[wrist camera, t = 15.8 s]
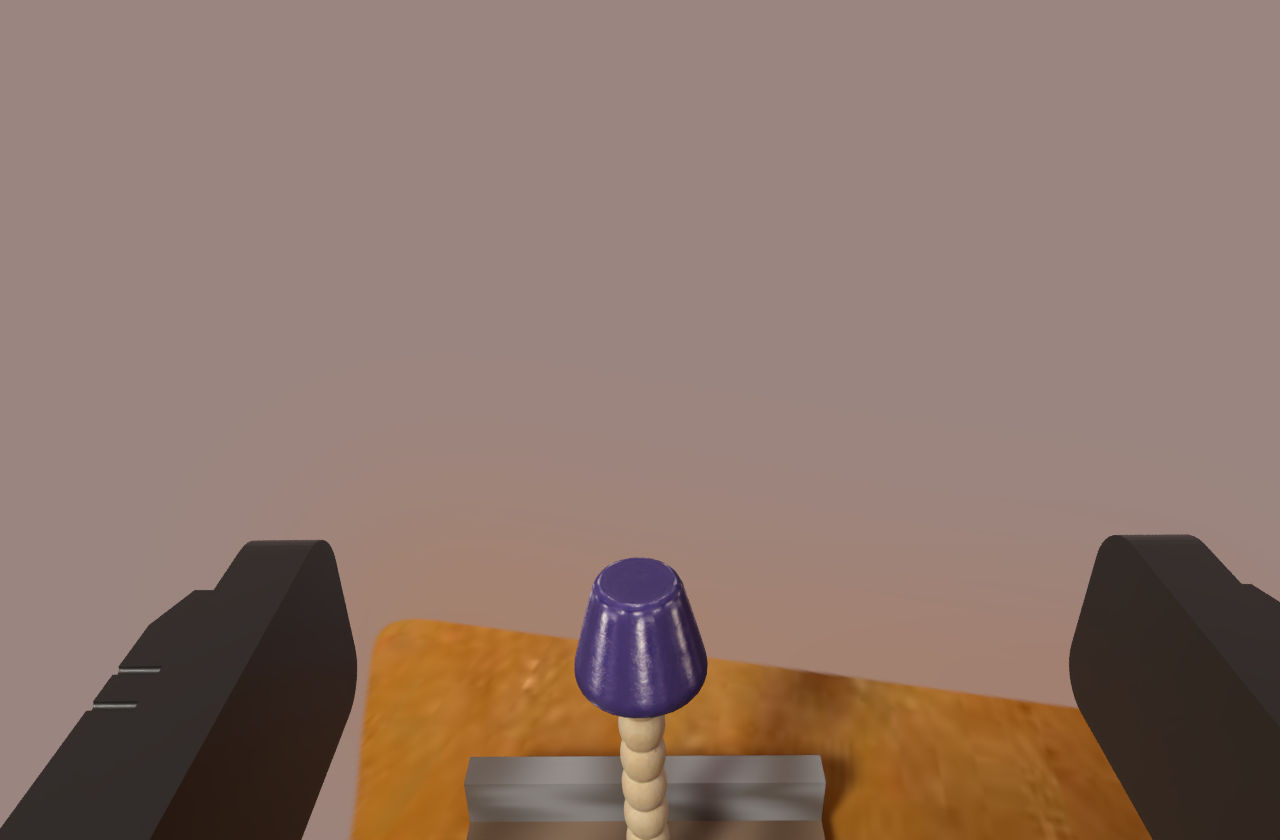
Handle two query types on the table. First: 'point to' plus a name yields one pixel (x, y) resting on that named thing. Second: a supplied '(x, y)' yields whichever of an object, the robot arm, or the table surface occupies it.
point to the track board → (696, 794)
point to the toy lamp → (641, 675)
